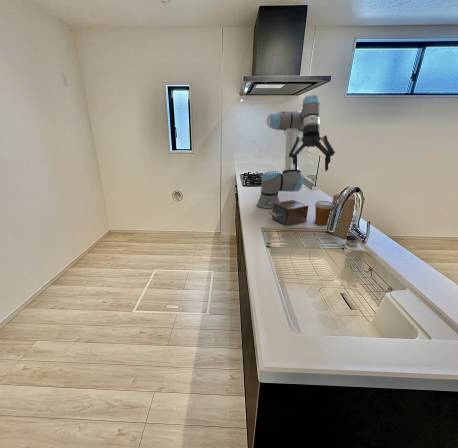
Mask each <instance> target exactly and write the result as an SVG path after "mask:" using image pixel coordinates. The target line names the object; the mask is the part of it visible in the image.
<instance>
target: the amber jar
mask: <svg viewBox="0 0 458 448" xmlns="http://www.w3.org/2000/svg"><path fill="white" fill-rule="evenodd" d="M314 206H315V214H314V215H315V216H314V217H315V219H314V223H315V224H316V225H319V226H326V225H328V223H329V218H330V216H329V215H330V211H331V207H332V202H331V201H328V200H317V201H316V202H315V203H314Z"/></svg>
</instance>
